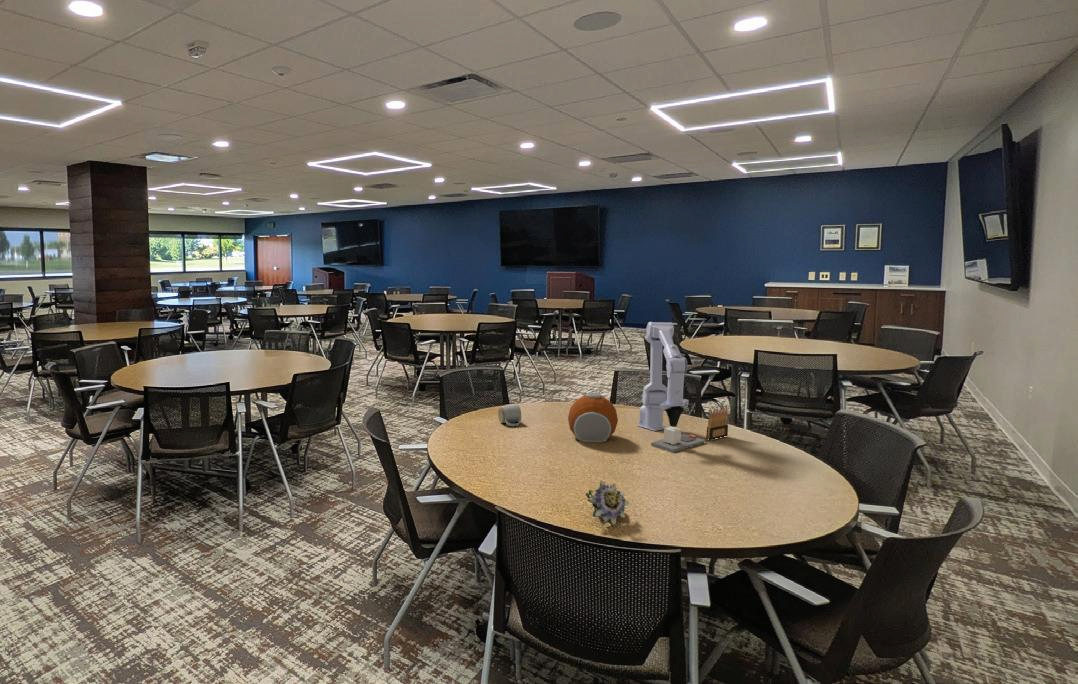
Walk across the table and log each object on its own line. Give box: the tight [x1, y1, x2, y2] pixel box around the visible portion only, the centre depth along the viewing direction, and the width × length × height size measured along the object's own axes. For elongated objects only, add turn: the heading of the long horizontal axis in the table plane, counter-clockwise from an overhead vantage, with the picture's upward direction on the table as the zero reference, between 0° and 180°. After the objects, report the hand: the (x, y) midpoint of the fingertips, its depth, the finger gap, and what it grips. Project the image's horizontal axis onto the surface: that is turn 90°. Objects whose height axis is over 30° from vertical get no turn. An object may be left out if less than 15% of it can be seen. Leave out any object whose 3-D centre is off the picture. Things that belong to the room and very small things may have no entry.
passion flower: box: [585, 480, 630, 526], centre depth 151 cm, size 11×11×12 cm
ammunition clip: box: [705, 406, 729, 441], centre depth 225 cm, size 11×2×12 cm, turn 124°
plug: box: [663, 426, 682, 446], centre depth 214 cm, size 4×4×7 cm
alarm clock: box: [567, 392, 619, 443], centre depth 221 cm, size 19×18×17 cm
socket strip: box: [650, 433, 707, 453], centre depth 216 cm, size 10×20×2 cm, turn 130°
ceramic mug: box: [497, 403, 522, 427], centre depth 238 cm, size 11×8×8 cm
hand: (673, 426), depth 213 cm, fingers closed
